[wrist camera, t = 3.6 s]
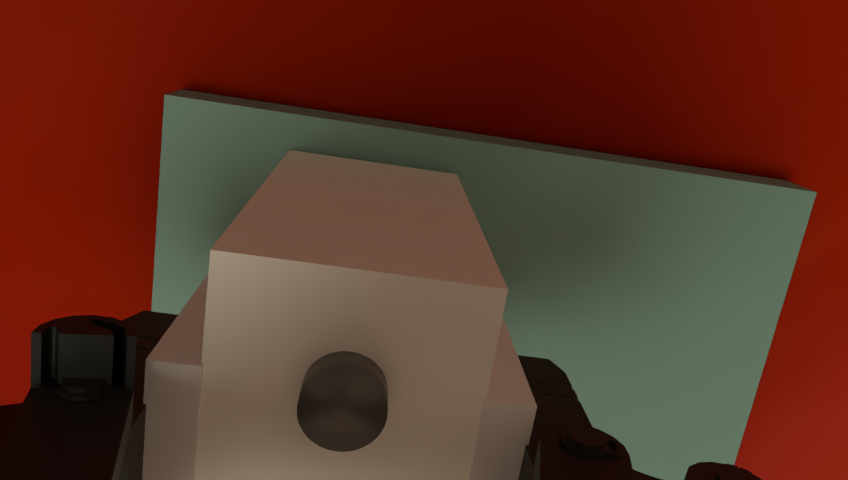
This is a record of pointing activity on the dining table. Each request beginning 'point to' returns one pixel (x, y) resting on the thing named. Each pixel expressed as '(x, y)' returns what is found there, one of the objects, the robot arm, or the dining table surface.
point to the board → (544, 256)
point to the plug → (348, 327)
